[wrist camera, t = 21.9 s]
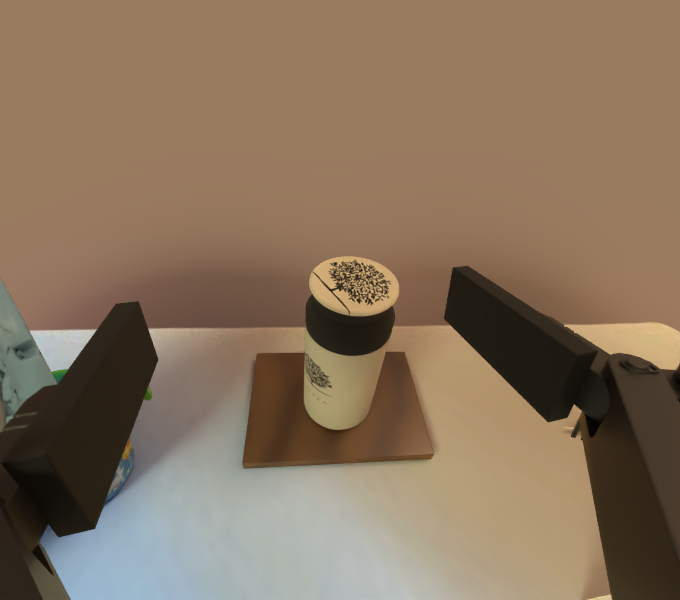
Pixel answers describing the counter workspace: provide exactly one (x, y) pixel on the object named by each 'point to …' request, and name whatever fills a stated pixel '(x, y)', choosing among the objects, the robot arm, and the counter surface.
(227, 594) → the counter surface
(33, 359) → the robot arm
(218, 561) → the counter surface
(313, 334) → the travel mug
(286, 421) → the walnut board
